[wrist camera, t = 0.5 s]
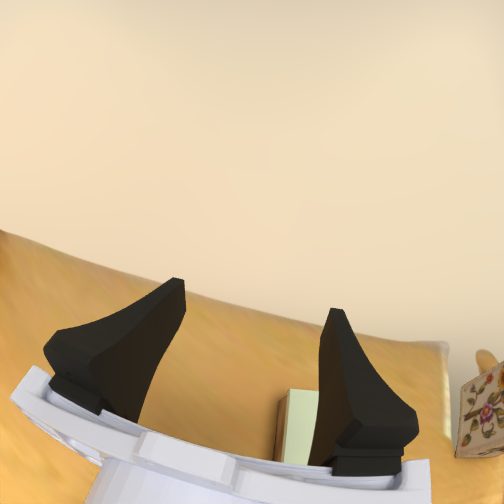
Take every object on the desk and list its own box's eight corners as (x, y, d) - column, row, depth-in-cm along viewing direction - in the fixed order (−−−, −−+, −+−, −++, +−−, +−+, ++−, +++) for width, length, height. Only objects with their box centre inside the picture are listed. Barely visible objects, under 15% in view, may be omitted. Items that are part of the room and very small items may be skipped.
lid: (327, 492, 19) (334, 493, 18) (275, 493, 19) (279, 494, 17) (333, 396, 26) (339, 392, 25) (286, 392, 26) (290, 388, 24)
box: (312, 488, 22) (328, 491, 19) (269, 487, 21) (279, 491, 18) (319, 404, 28) (333, 396, 25) (279, 401, 28) (289, 393, 25)
